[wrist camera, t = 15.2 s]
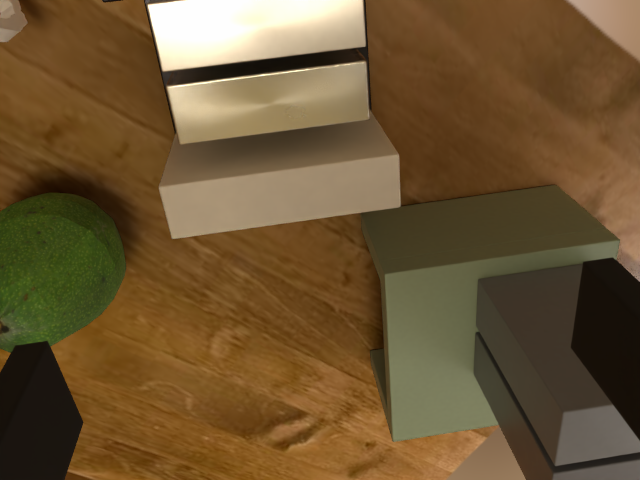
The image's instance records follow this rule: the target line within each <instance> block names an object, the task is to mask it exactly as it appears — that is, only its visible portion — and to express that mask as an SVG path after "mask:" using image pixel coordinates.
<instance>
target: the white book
mask: <svg viewBox="0 0 640 480" xmlns="http://www.w3.org/2000/svg"><path fill="white" fill-rule="evenodd" d="M159 191H160V195H161V199H162V203H163V207H164V210H165V214H166V218H167V222H168V226H169V230H170V233H171V237H172V239H177V238H184V237H191V236H198V235H205V234H212V233H219V232H227V231H234V230H241V229H248V228H255V227H262V226H269V225H277V224H284V223H291V222H298V221H305V220H312V219H319V218H326V217H334V216H341V215H348V214H355V213H362V212H369V211H376V210H384V209H391V208H398V207H400V206H401V199H400V166H399V154H398V152H397V151H396V149H395V148H394V146H393V145H392V143H391V141H390V140H389V138H388V137H387V135H386V134H385V132H384V131H383V129H382V127H381V126H380V124H379V123H378V121H377V120H376V118H375V117H374V115H373V113H372V112H371V110H370V120H367V121H360V122H352V123H345V124H337V125H329V126H322V127H314V128H307V129H299V130H292V131H284V132H276V133H269V134H261V135H254V136H246V137H239V138H231V139H224V140H216V141H208V142H201V143H193V144H186V145H180V144H179V142H178V137H177V133H176V134H175V137H174V140H173V143H172V147H171V150H170V153H169V156H168V159H167V162H166V166H165V169H164V172H163V175H162V178H161V181H160V184H159Z"/></svg>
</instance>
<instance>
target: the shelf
mask: <svg viewBox="0 0 640 480" xmlns="http://www.w3.org/2000/svg"><path fill="white" fill-rule="evenodd" d="M360 214H361V228H362V232H363V235H364V238H365V241H366V243H367V246H368V249H369V251H370V254H371V257H372V259H373V262H374V265H375V268H376V270H377V273H378V276H379V278H380V281H381V299H382V318H383V336H384V349H377V350H371V351H370V356H371V366H372V369H373V373H374V377H375V380H376V384H377V387H378V391H379V394H380V398H381V402H382V405H383V409H384V412H385V416H386V419H387V423H388V426H389V430H390V434H391V437H392V441H393V442H396V441H402V440H408V439H414V438H421V437H427V436H433V435H439V434H446V433H452V432H458V431H464V430H470V429H477V428H483V427H489V426H495V425H499V426H500V428H501V430H502V432H503V434H504V436H505V438H506V440H507V442H508V444H509V446H510V448H511V450H512V452H513V454H514V456H515V458H516V460H517V462H518V464H519V466H520V468H521V470H522V472H523V474H524V476H525V478H526V480H640V441H639V439H638V438H637V436H636V435H635V434H634V432H633V431H632V430H631V428H630V427H629V426H628V424H627V423H626V422H625V420H624V419H623V418H622V416H621V415H620V414H619V412H618V411H617V409H616V408H615V407H614V405H613V404H612V403H611V401H610V400H609V399H608V397H607V396H606V395H605V393H604V392H603V391H602V389H601V388H600V387H599V385H598V384H597V382H596V381H595V380H594V378H593V377H592V376H591V374H590V373H589V372H588V370H587V369H586V368H585V366H584V365H583V364H582V362H581V361H580V360H579V358H578V357H577V356H576V354H575V353H574V351H573V350H572V349H571V342H572V335H573V328H574V321H575V314H576V307H577V300H578V293H579V287H580V280H581V273H582V266H583V262H585V261H592V260H598V259H605V258H612V257H613V258H614V259H617V254H618V248H619V243H620V240H619V239H618V238H617V237H616V236H615V235H614V234H613V233H611V232H610V231H609V230H608V229H606V227H604V226H603V225H602V224H601V223H600V222H599V221H598V220H596V219H595V218H594V217H593V216H592V215H591V214H589V213H588V212H587V211H586V210H585V209H584V208H583V207H581V206H580V205H579V204H578V203H577V202H576V201H575V200H573V199H572V198H571V197H570V196H569V195H568V194H566V193H565V192H564V191H563V190H562V189H561V188H560V187H558V186H557V185H551V186H544V187H536V188H529V189H522V190H515V191H508V192H501V193H494V194H486V195H479V196H472V197H465V198H458V199H451V200H444V201H436V202H429V203H422V204H415V205H408V206H401V207H398V208H391V209H384V210H376V211H369V212H362V213H360Z"/></svg>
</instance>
